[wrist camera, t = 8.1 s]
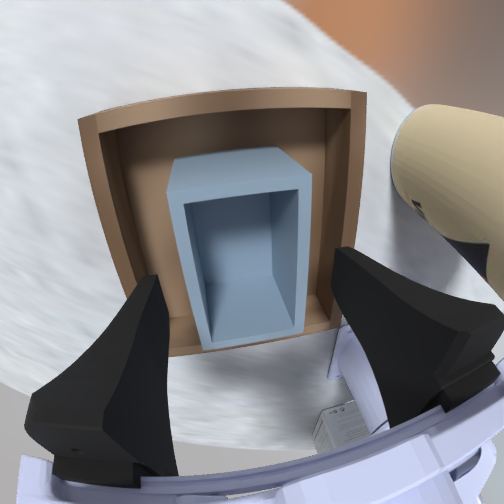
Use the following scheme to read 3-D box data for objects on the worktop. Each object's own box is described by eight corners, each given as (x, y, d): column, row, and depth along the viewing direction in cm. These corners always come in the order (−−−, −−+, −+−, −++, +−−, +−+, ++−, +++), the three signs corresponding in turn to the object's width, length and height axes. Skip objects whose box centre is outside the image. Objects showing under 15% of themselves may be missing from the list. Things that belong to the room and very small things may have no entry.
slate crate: (275, 145, 14) (312, 174, 10) (278, 274, 18) (303, 332, 14) (174, 157, 14) (166, 192, 9) (198, 287, 18) (203, 350, 14)
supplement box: (364, 419, 39) (401, 505, 25) (310, 436, 38) (342, 530, 24) (383, 389, 34) (433, 490, 20) (321, 409, 32) (364, 524, 18)
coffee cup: (360, 205, 18) (493, 340, 8) (400, 68, 13) (585, 113, 3) (446, 225, 20) (547, 319, 10) (481, 121, 16) (606, 184, 6)
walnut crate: (332, 88, 14) (366, 92, 11) (321, 293, 21) (339, 326, 18) (102, 111, 12) (77, 119, 9) (155, 319, 20) (152, 358, 17)
